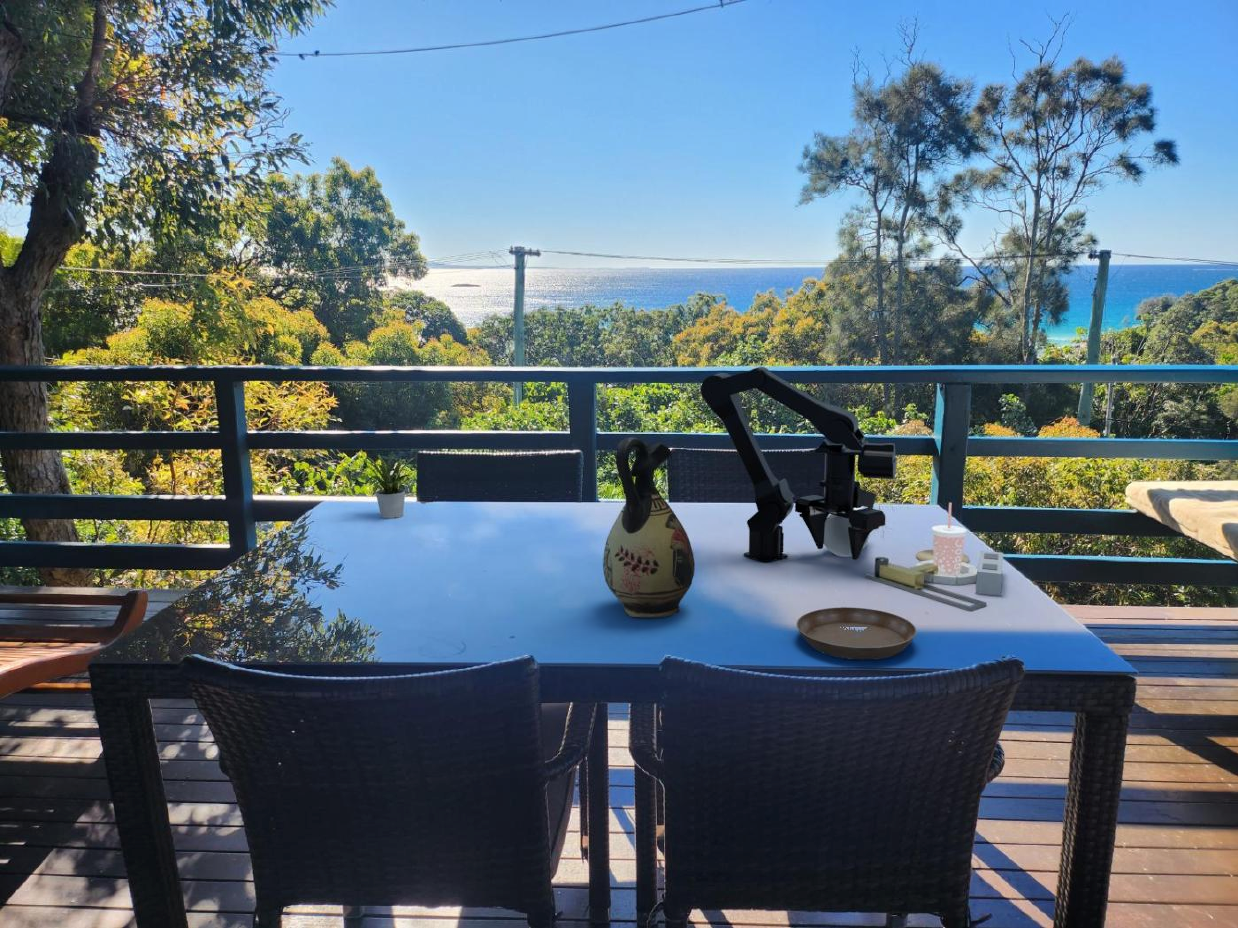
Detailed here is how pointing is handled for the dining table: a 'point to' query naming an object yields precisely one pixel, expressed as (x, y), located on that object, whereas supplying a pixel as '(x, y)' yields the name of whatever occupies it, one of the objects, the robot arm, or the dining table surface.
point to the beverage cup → (948, 546)
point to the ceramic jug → (646, 539)
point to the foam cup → (838, 535)
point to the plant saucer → (875, 641)
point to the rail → (976, 602)
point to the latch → (903, 572)
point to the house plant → (389, 489)
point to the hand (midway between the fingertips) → (837, 554)
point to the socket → (974, 574)
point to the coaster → (929, 555)
